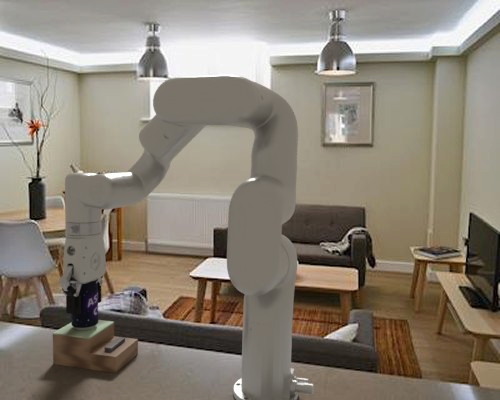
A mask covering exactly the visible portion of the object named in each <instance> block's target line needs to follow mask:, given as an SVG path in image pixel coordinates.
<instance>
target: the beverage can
mask: <svg viewBox="0 0 500 400" xmlns="http://www.w3.org/2000/svg"><path fill="white" fill-rule="evenodd" d="M73 281H77V280H76V279H73ZM72 287H73V288H74V289H75V287H76V285H73V284H72ZM79 295H80V296H81V313H80V314H71V313H70V314H71V315H70V318H71V322H70V323H72V326H73V327H75V329H77V330H89V329H92V328H94V327H95V325H96V324H97V323H98V320H99V303H98V279H95V280H93V281H91V282H89V283H86V284H82V285H81V288H80V292H79Z"/></svg>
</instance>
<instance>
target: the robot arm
mask: <svg viewBox="0 0 500 400" xmlns="http://www.w3.org/2000/svg"><path fill="white" fill-rule="evenodd" d="M152 106H153V107H152V108H153V110H154V113H155V115H154V116H153V117H152V118H151V119H150V120H149V121H148V122H147V123H146V125H145V126H143V127H142V129H141V130H140V131H139V133H138V140H139V143H140V145H141V146H142V148H143V152H142V154H141V156H140V157H139V158H138V160H137V161H136V162H135V163H134V164H133V165H132V166H131V167H130V168H129V169H128V170H126V171H125V172H122V171H121V172H108V173H107V172H106V173H105V172H104V173H96V172H95V173H94V172H71V173H68V174H67V175H65V179H64V203H65V206H64V215H65V223H64V224H65V227H64V228H65V242H64V247H63V249H64V250H63V261H62V263H63V265H62V269H63V270H62V273H63V274H62V275H61V276H60V279H59V281H58V284H59V286H60V287H61V289H62V292H63V295H64V296H65V301H66V302H65V306H66V307H65V311H66V313H67V314H80V313H81V296H80V295H79V292H80V288H81V285H82V284H86V283H89V282H91V281H93V280H95V279H98V304H99V303H102V284H103V282H104V281H103V277H104V275H106V271H107V267H106V266H107V263H106V261H107V259H106V248H105V241H104V240H105V239H104V235H103V232H102V229H103V228H102V227H103V224H102V223H103V222H102V221H103V220H102V216H103V215H102V210H113V209H119V208H123V207H130V206H135V205H137V204H138V203H141V202H143V200H145V198H147V197H148V196H149V195H150V194H151V193H152V192H153V191H154V190H155V189H156V188H157V187H159V186H160V184H161V183H162V181H163V180H164V179H165V177H166V175H167V173H168V171H169V169H170V166H171V163H172V161H173V160H174V159H175V158H176V157H177V156H178V155H179V153H180V152H181V151H182V150H183V149H184V148H185V147H186V146H187V145H188V144H189V143H190V142H191V141H192V140H193V139H195V138H196V136H198V134H200V133H201V131H202V130H203V129H205V128H206V127H207V126H232V127H239V128H246V129H249V130H251V131H253V133H254V139H253V144H252V148H251V156H250V157H251V161H250V162H251V167H250V177H249V179H245V180H244V181H243V182H241V183H240V184H239V185H238V186H237V187H236V188H235V190H234V192H233V193H232V196H231V199H230V201H229V205H228V214H227V216H228V217H227V218H228V220H227V243H226V246H227V247H226V269H227V274H228V278H229V280H230V282H231V283H232V285H233V287H234V288H236V290H237V291H239V292H240V293H241V294H243V295H244V296H243V308H242V310H243V312H242V313H243V314H242V336H241V337H242V338H241V339H242V343H241V345H242V347H241V348H242V349H241V377H240V378H239V379H238V380H237V381H235V383H234V384H233V388H232V393H233V397H234V399H235V400H298V398H299V397H298V396H299V393H301V394H305V395H314V383H309V378H307V377H297V375H295V368H292V348H293V347H292V346H293V344H292V341H293V340H292V338H293V337H292V336H293V318H294V298H295V287H296V279H297V272H298V255H297V250H296V248H295V245H294V244H293V242H292V241H291V240H290V239H289V238H288V237H287V236H285V234H282V232H283V225H284V224H286V223H287V222H288V221H289V220H291V218H292V216H293V215H294V213H295V210H296V206H297V205H296V204H297V175H298V174H297V173H298V143H299V142H298V141H299V139H298V138H299V128H298V120H297V118H296V115H295V112H294V110H293V108H292V106H291V105H290V104H289V101H287V100H286V99H285V98H284V97H283V96H282V95H280V94H279V93H277V92H275V91H274V90H272V89H270V88H269V87H267V86H265V85H262V84H261V83H258V82H255V81H253V80H250V79H249V78H246V77H243V76H240V75H234V74H220V75H219V74H218V75H217V74H216V75H202V76H201V75H199V76H198V75H196V76H175V77H172V78H169V79H167V80H165V81H164V82H161V84H160V85H159V86H158V87H157V88H156V90H155V93H154V95H153V99H152ZM73 279H76V280H77V281H73ZM72 284H73V285H76V287H75V289H74V288H73V287H72Z"/></svg>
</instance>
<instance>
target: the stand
mask: <svg viewBox="0 0 500 400" xmlns="http://www.w3.org/2000/svg"><path fill="white" fill-rule="evenodd" d="M137 355H139V339H138V338H132V337H131V338H130V337H124V336H123V337H121V336H115V321H111V320H101V319H98V323H97V324H96V325H95V327H94V328H92V329H89V330H77V329H75V327H73V326H72V323H71V322H70V323H67V324H66V325H64V326H62V327H61V328H59V329H57V330H56V331H54V332H52V364H53V365H57V366H64V367H71V368H78V369H85V370H92V371H100V372H106V373H114V374H116V373H118V372H119V371H120V370H121V369H122V368H123V367H125V366H126V365H127V364H129V362H130V361H131V360H132V359H134V358H135V357H137Z"/></svg>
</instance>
